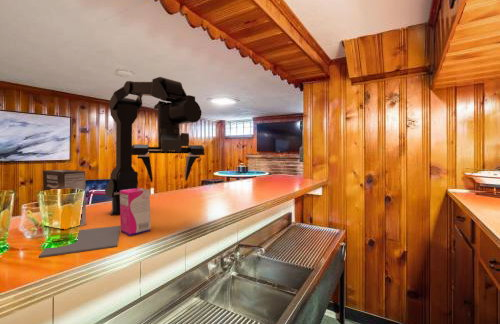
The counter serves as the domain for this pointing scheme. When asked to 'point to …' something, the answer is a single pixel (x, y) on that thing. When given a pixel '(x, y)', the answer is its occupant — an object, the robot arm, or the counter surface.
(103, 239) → the bar mat
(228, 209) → the counter surface
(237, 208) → the counter surface
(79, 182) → the coffee box
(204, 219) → the counter surface
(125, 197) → the supplement box
